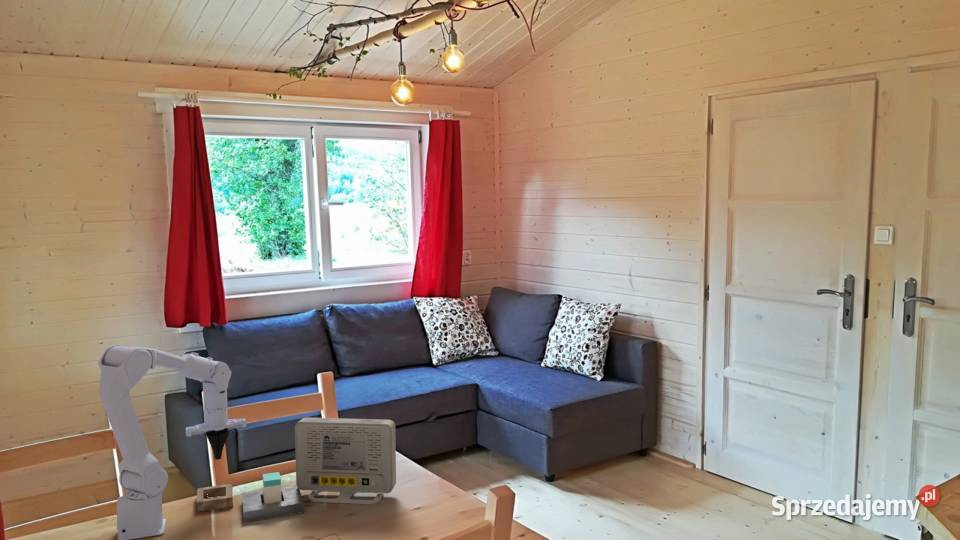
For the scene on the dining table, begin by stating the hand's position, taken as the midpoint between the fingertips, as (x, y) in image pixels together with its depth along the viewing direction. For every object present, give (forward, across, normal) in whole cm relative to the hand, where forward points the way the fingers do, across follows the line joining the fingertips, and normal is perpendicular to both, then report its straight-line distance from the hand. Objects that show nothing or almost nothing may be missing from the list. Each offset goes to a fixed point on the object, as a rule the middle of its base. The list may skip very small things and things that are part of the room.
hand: (217, 458), depth 177 cm
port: (+10, +10, -14) cm, 20 cm away
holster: (+10, -2, -3) cm, 11 cm away
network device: (+10, +28, -18) cm, 35 cm away
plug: (+10, +10, -14) cm, 20 cm away
